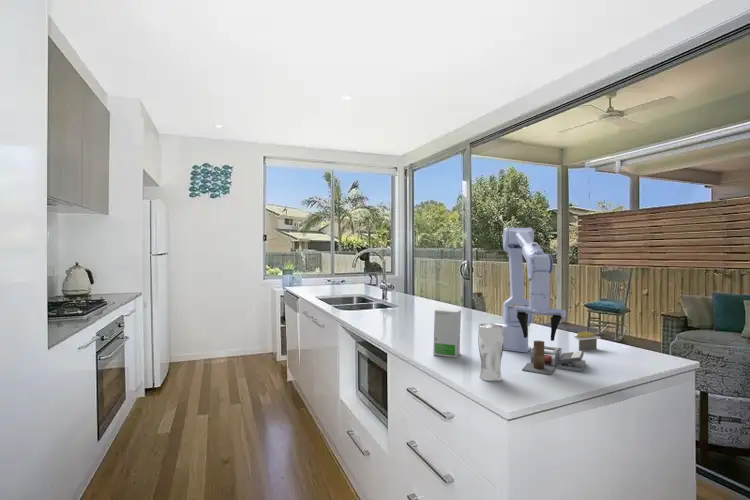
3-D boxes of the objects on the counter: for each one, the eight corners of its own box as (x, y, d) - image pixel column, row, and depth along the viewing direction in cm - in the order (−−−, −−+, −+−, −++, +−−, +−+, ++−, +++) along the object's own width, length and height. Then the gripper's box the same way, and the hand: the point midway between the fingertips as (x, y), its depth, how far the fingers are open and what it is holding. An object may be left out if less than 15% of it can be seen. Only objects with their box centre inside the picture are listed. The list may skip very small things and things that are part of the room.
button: (540, 361, 130) (540, 356, 130) (541, 359, 133) (541, 354, 133) (550, 362, 128) (550, 357, 128) (552, 360, 131) (552, 355, 131)
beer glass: (488, 383, 110) (489, 328, 109) (473, 376, 116) (473, 324, 116) (509, 380, 112) (509, 326, 112) (492, 373, 119) (492, 322, 119)
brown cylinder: (532, 368, 122) (532, 341, 122) (534, 365, 125) (535, 340, 125) (542, 370, 120) (543, 343, 120) (545, 367, 123) (545, 341, 123)
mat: (522, 370, 121) (522, 369, 121) (527, 363, 128) (527, 362, 128) (550, 375, 117) (550, 373, 117) (555, 368, 124) (555, 366, 124)
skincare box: (432, 355, 138) (433, 310, 138) (437, 350, 144) (437, 307, 144) (457, 358, 135) (457, 311, 134) (461, 353, 141) (461, 308, 141)
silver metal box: (529, 364, 128) (529, 351, 128) (535, 356, 136) (535, 345, 136) (582, 372, 120) (582, 358, 120) (585, 363, 128) (585, 351, 128)
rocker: (559, 363, 123) (558, 359, 124) (563, 356, 131) (562, 352, 131) (580, 361, 120) (579, 357, 120) (583, 354, 128) (582, 350, 128)
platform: (553, 348, 149) (553, 330, 149) (591, 344, 155) (591, 327, 155) (579, 356, 138) (579, 337, 138) (619, 352, 144) (619, 334, 143)
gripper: (511, 293, 123) (511, 338, 123) (563, 297, 115) (563, 344, 115) (516, 291, 129) (516, 333, 129) (566, 294, 121) (566, 339, 121)
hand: (538, 338), depth 122 cm, fingers open, 7 cm apart
